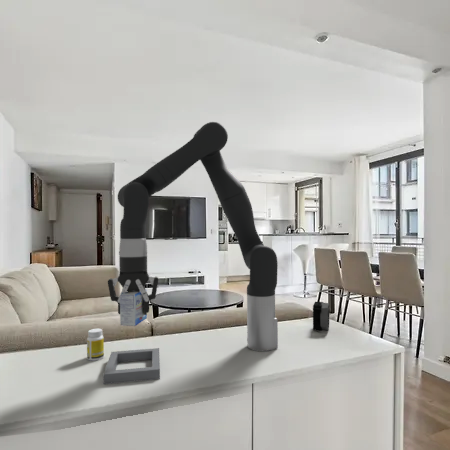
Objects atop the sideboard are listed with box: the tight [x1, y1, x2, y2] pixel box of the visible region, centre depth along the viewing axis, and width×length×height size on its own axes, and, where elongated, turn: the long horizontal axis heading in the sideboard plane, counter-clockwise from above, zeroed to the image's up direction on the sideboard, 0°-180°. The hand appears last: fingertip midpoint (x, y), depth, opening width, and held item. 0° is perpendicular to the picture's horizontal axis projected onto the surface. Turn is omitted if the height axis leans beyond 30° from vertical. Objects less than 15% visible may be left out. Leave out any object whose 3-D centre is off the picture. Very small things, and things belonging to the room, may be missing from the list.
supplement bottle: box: [86, 328, 105, 362], centre depth 104 cm, size 5×5×8 cm
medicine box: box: [119, 289, 148, 327], centre depth 96 cm, size 8×4×9 cm, turn 169°
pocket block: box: [102, 347, 161, 385], centre depth 96 cm, size 14×16×2 cm
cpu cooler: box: [312, 301, 330, 332], centre depth 131 cm, size 10×6×10 cm, turn 159°
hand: (133, 314), depth 96 cm, fingers closed on medicine box, 5 cm apart
